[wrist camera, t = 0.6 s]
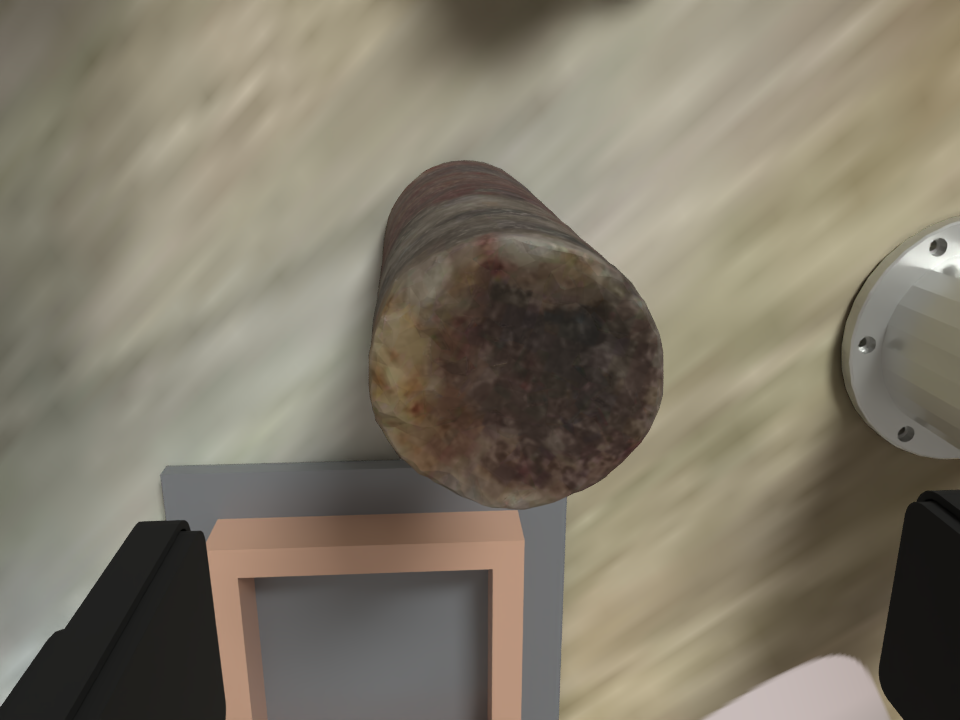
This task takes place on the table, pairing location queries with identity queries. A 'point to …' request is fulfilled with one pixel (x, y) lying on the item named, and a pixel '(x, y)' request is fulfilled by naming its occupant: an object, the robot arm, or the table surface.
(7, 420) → the table surface
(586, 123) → the table surface
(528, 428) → the candle
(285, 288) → the table surface
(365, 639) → the tray
